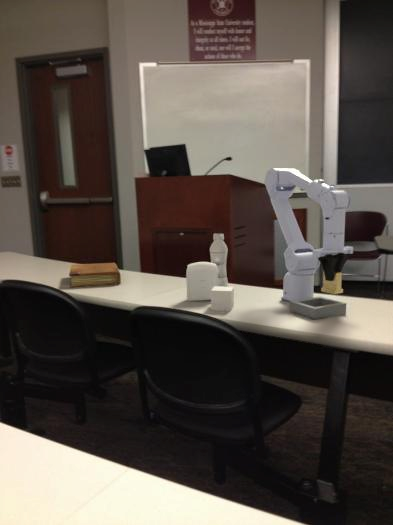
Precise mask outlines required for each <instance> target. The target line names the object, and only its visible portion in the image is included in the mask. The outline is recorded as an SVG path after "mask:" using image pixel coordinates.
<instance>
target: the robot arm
mask: <svg viewBox="0 0 393 525" xmlns="http://www.w3.org/2000/svg"><path fill="white" fill-rule="evenodd" d="M263 183H264V185H265V188H266V191H267V194H268V196H269V199H270V203H271V205H272V207H273V210H274V213H275V216H276V219H277V222H278V224H279V227H280V230H281V232H282V234H283V237H284V239H285V242H286V245H287V247H286V249H285V250H284V252H283V257H284V261H285V262H284V265H285V268H286V270H287V272H286V273H285V275H284V276H283V282H282V286H283V290H282V296H281V297H280V299H281V300H286V301H289V302H290V301H296V300H301V299H307V298H313V297H314V292H315V291H314V286H315V285H314V283H315V282H314V281H315V274H316V272H317V270H318V269H319V268H320V265H321V267H322V272H323V271H324V275H325V279H326V280H327V281H333V276H334V271H336V272H342V270H343V268H344V267H345V264H346V262H347V261H348V259H349V255H348V254H350V255H351V254H354V247H353V246H350V245H349V246H348V245H347V246H345V234H346V233H345V229H346V228H345V227H346V211H347V209H348V208H349V207H350V205H351V195H350V194H349V192H347V191H346V189H339V190H337V189H336V187H335V186H333V185H329V184H327V183H325V180H324V179H320V178H319V179H314V180H312V179H310V178H309V177H307V176H306V175H304V174H303V173H301V172H300V170H299V169H296V168H293V167H292V168H276V167H270V168H269V169H267V171H266V173H265V177H264V182H263ZM296 188H299V189H302V190H303V191H305V192H306V195H307V197H308V198H309V199H311V200H313V201H314V202H316V203H317V204H319V205H320V208H321V211H322V216H323V236H322V238H323V239H322V240H323V241H322V247H321V248H318V249H314V247H313V245H312V244H310V243H308V242H307V241H306V240H305V238H304V236H303V234H302V231H301V228H300V226H299V224H298V221H297V219H296V216H295V213H294V211H293V209H292V206H291V204H290V201H289V198H290V197H292V196H293V194H294V192H295V190H296Z"/></svg>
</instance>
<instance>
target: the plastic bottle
mask: <svg viewBox="0 0 393 525" xmlns="http://www.w3.org/2000/svg"><path fill="white" fill-rule="evenodd" d="M224 240H225V236H224V233H213V242H211V245H210V247H209V255H210V263H214V264H216V266H217V269H218V286H221V287H228V285H229V280H228V277H227V258H228V252H229V250H228V246H227V244H226V243H225V241H224Z"/></svg>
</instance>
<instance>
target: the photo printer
mask: <svg viewBox="0 0 393 525" xmlns="http://www.w3.org/2000/svg"><path fill="white" fill-rule="evenodd" d="M186 267H187V268H186V272H185V273H186V274H185V278H186V300H187V301H189V302H194V301H195V302H196V301H197V302H199V301H211V290H212V289H213V287H214V286H218V269H217V266H216V264H214V263H211V261H210V262H209V261H198V262H191V263H189V264H187V266H186Z"/></svg>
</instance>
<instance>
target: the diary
mask: <svg viewBox="0 0 393 525" xmlns="http://www.w3.org/2000/svg"><path fill="white" fill-rule="evenodd" d="M69 277H70V286H69V288H70V289H71V288H85V287H86V286H91V287H99V286H98V285H108V286H116V285H115V284H120V285H121V283H122V280H121V279H122V278H121V272H120V270H119V267H118V265H117V264H116V262H104V263H103V262H102V263H81V264H80V263H79V264H71V265H70V270H69ZM86 288H87V287H86Z"/></svg>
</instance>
